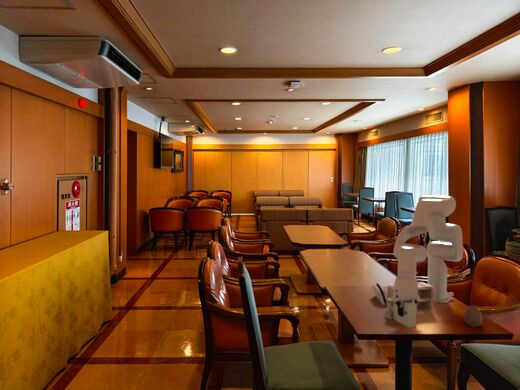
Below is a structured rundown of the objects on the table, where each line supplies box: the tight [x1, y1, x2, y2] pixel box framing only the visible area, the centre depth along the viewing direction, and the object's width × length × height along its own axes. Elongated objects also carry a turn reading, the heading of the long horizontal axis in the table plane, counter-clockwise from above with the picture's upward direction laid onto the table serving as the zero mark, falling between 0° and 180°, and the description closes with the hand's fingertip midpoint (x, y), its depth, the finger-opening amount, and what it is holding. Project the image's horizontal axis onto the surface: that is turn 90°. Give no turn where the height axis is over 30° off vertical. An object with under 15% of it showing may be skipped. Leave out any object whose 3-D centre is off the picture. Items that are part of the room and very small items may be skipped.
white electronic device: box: [371, 282, 388, 306], centre depth 204 cm, size 17×5×10 cm, turn 176°
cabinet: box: [385, 281, 434, 320], centre depth 183 cm, size 26×11×13 cm, turn 106°
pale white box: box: [391, 298, 417, 328], centre depth 171 cm, size 5×12×10 cm, turn 17°
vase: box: [463, 304, 483, 328], centre depth 169 cm, size 7×7×9 cm
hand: (405, 314), depth 170 cm, fingers open, 4 cm apart
